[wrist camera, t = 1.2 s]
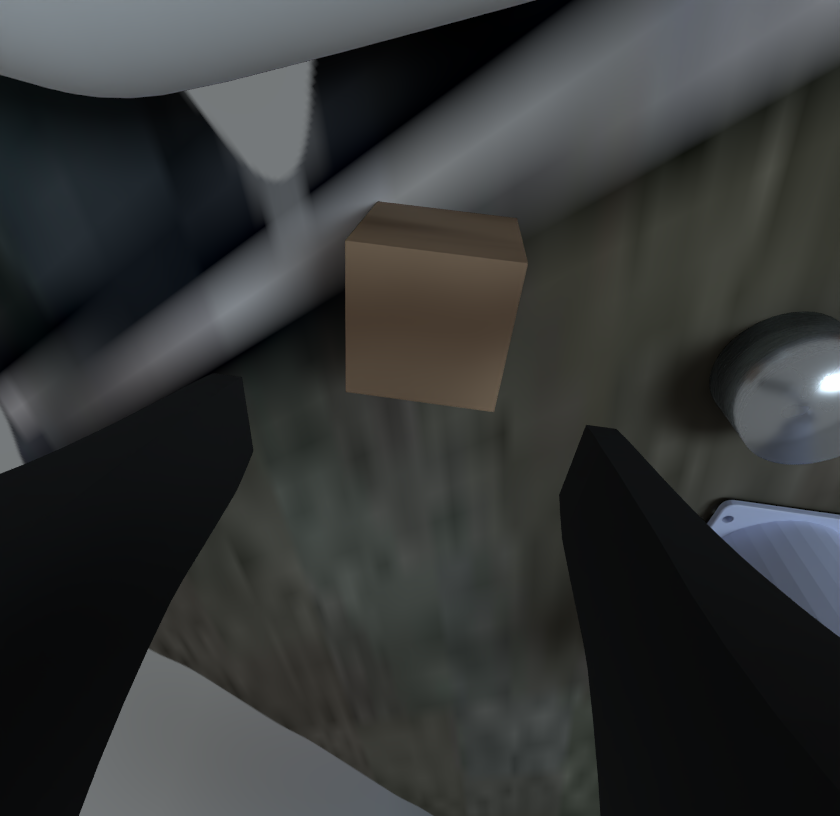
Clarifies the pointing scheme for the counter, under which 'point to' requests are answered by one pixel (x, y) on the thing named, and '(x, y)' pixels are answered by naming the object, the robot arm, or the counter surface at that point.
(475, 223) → the walnut cube
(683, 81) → the counter surface
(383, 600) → the counter surface
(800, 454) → the grey tin
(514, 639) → the counter surface
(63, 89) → the milk bottle
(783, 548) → the robot arm
